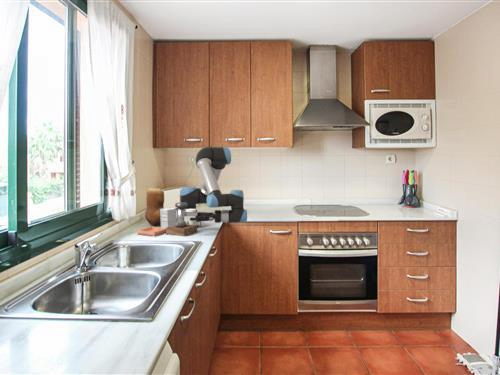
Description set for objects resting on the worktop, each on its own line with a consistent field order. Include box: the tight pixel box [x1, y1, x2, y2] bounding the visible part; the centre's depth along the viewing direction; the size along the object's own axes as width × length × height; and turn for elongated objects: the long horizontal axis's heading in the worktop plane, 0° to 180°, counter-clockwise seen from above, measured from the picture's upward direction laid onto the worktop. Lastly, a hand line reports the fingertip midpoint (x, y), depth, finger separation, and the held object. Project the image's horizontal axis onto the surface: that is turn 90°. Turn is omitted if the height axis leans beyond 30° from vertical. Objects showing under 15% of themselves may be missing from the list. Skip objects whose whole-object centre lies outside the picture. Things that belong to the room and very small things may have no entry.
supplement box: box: [160, 207, 177, 228], centre depth 231 cm, size 7×7×13 cm
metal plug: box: [174, 202, 187, 228], centre depth 215 cm, size 7×7×18 cm
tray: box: [137, 226, 166, 237], centre depth 215 cm, size 13×13×2 cm
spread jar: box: [186, 208, 205, 228], centre depth 234 cm, size 12×11×12 cm
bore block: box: [165, 225, 198, 237], centre depth 216 cm, size 13×13×4 cm
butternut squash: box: [144, 187, 165, 227], centre depth 240 cm, size 14×13×25 cm
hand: (185, 216), depth 215 cm, fingers open, 13 cm apart
